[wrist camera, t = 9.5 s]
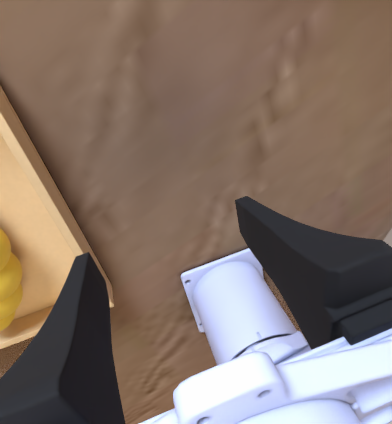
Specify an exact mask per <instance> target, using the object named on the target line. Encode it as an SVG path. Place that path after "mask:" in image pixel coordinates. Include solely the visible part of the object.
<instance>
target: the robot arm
mask: <svg viewBox="0 0 392 424" xmlns="http://www.w3.org/2000/svg"><path fill="white" fill-rule="evenodd" d="M235 203H236V209H237V216H238V222H239V228H240V233H241V234H242V236H243V238H244V240H245V242H246V244H247V246H248V247H249V248H248V249H245V250H243V251H240V252H237V253H235V254H232V255H229V256H227V257H224V258H221V259H219V260H216V261H213V262H211V263H208V264H205V265H203V266H200V267H197V268H195V269H192V270H189V271H187V272H184V273H182V274H181V280H182V283H183V286H184V289H185V292H186V294H187V297H188V300H189V303H190V306H191V309H192V312H193V315H194V317H195V320H196V323H197V326H198V329H199V331H200V332H205V334H206V337H207V339H208V342H209V345H210V348H211V350H212V353H213V356H214V358H215V361H216V364H217V366H215V367H212V368H210V369H208V370H205V371H203V372H200V373H198V374H196V375H193V376H191V377H189V378H188V379H186V380H184V381H183V382H181V383H180V384H179V386H178V387H177V388H176V389H175V390H174V392H173V401H174V406H175V408H174V409H172V410H169V411H167V412H165V413H162V414H160V415H158V416H155V417H153V418H151V419H148V420H146V421H144V422H141V423H139V424H388V423H390V422H392V247H391V246H389V245H388V244H386V243H385V242H384V241H382V240H375V239H366V238H357V237H351V236H346V235H341V234H336V233H332V232H328V231H324V230H320V229H317V228H314V227H311V226H308V225H305V224H302V223H299V222H297V221H294V220H292V219H290V218H287V217H285V216H283V215H281V214H279V213H277V212H275V211H273V210H271V209H269V208H267V207H266V206H264V205H262V204H260V203H258V202H257V201H255V200H253V199H251V198H249V197H248V196H245V197H243V198H240V199H237V200H235ZM263 268H264V269H265V271H266V272H267V273H268V275H269V276H270V278H271V279H272V280H273V282H274V283H275V285H276V286H277V288H278V289H279V291H280V293H281V295H282V296H283V298H284V300H285V302H286V303H287V305H288V307H289V309H290V310H291V312H292V314H293V316H294V318H295V319H296V321H297V323H298V325H299V327H300V329H301V331H302V333H303V334H304V336H305V338H306V339H305V338H304V336H303V335H302V333H301V332H300V331H298V332H297V330H296V328H295V327H294V325H293V324H292V322H291V321H290V319H289V318H288V316H287V315H286V313H285V311H284V310H283V308H282V307H281V305H280V304H279V302H278V301H277V299H276V298H275V296H274V294H273V293H272V291H271V290H270V288H269V287H268V285H267V284H266V282H265V281H264V276H263ZM187 280H188V281H187ZM306 340H307V341H306ZM0 424H125V419H124V415H123V410H122V405H121V400H120V395H119V389H118V383H117V378H116V372H115V366H114V360H113V354H112V344H111V323H110V304H109V296H108V291H107V286H106V281H105V279H104V277H103V276H102V274H101V272H100V270H99V269H98V267H97V265H96V263H95V262H94V260H93V258H92V256H91V254H90V253H89V252H87V253H84V254H82V255H79V256H76V257H75V259H74V262H73V264H72V267H71V269H70V272H69V274H68V276H67V279H66V281H65V283H64V286H63V288H62V290H61V292H60V294H59V296H58V298H57V300H56V302H55V304H54V306H53V308H52V310H51V312H50V314H49V315H48V317H47V319H46V321H45V322H44V324H43V325H42V327H41V329H40V330H39V332H38V333H37V334H36V336H35V337H34V339H33V340H32V341H31V343H30V344H29V345H28V347H27V348H26V349H25V351H24V352H23V353H22V355H21V356H20V357H19V358H18V359H17V361H16V362H15V363H14V364H13V365H12V366H11V368H10V369H9V370H8V371H7V372H6V373H5V374H4V375H3V377H2V378H1V379H0Z"/></svg>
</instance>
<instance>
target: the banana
mask: <svg viewBox="0 0 392 424" xmlns="http://www.w3.org/2000/svg"><path fill="white" fill-rule="evenodd" d="M21 279H22V266H21V264H20V261H19V260H18V258H17V257H16V256H15V255H14V254H13V253H12V252H11V245H10V241H9V239H8V237H7V235H6V234H5V232H4V231H3V230H2V229H1V228H0V331H2V330H4V329H5V328H6V327H8V326H9V325H10V324H11V322H12V321H13V319H14V317H15V312H16V309H17V308H18V306H19V305H20V303H21V300H22V297H23V289H22V285H21V283H20V282H21Z"/></svg>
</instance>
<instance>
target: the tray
mask: <svg viewBox="0 0 392 424" xmlns="http://www.w3.org/2000/svg"><path fill="white" fill-rule="evenodd" d="M0 228H1V229H2V230H3V231H4V232H5V234H6V235H7V237H8V239H9V241H10V245H11V252H12V253H13V254H14V255H15V256H16V257H17V258H18V260H19V261H20V264H21V266H22V279H21V282H20V283H21V285H22V289H23V297H22V300H21V303H20V305H19V306H18V308H17V309H16V312H15V317H14V319H13V321H12V322H11V324H10V325H9V326H8V327H6V328H5V329H4V330H2V331H0V349H2V348H5V347H7V346H10V345H13V344H15V343H18V342H21V341H23V340H26V339H29V338H31V337H34V336H36V334H37V333H38V332H39V330H40V329H41V327H42V325H43V324H44V322H45V321H46V319H47V317H48V315H49V314H50V312H51V310H52V308H53V306H54V304H55V302H56V300H57V298H58V296H59V294H60V292H61V290H62V288H63V286H64V283H65V281H66V279H67V276H68V274H69V272H70V269H71V267H72V264H73V262H74V259H75V257H76V256H79V255H82V254H84V253H87V252H89V253H90V254H91V256H92V258H93V260H94V262H95V263H96V265H97V267H98V269H99V270H100V272H101V274H102V276H103V277H104V279H105V281H106V286H107V291H108V296H109V304H110V308H111V307H113V306H114V301H113V292H112V285H111V283H110V281H109V280H108V278H107V276H106V274H105V272H104V271H103V269H102V267H101V265H100V263H99V262H98V260H97V258H96V256H95V254H94V253H93V251H92V249H91V247H90V245H89V244H88V242H87V240H86V238H85V236H84V235H83V233H82V231H81V229H80V227H79V226H78V224H77V222H76V220H75V219H74V217H73V215H72V213H71V211H70V210H69V208H68V206H67V204H66V202H65V201H64V199H63V197H62V195H61V193H60V192H59V190H58V188H57V186H56V184H55V183H54V181H53V179H52V177H51V175H50V174H49V172H48V170H47V168H46V166H45V165H44V163H43V161H42V159H41V157H40V156H39V154H38V152H37V150H36V148H35V147H34V145H33V143H32V141H31V139H30V138H29V136H28V134H27V132H26V131H25V129H24V127H23V125H22V123H21V122H20V120H19V118H18V116H17V114H16V113H15V111H14V109H13V107H12V105H11V104H10V102H9V100H8V98H7V96H6V95H5V93H4V91H3V89H2V87H1V86H0Z"/></svg>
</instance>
